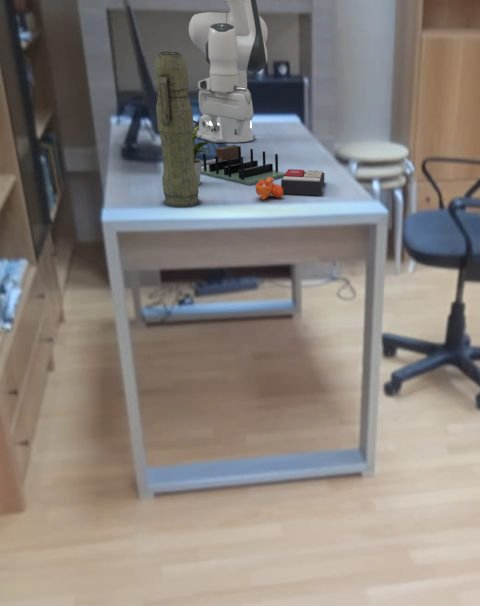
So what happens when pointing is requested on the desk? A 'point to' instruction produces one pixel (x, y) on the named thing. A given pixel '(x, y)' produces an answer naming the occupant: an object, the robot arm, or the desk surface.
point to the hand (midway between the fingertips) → (227, 133)
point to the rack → (242, 169)
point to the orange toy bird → (268, 188)
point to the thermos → (176, 130)
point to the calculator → (303, 182)
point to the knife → (224, 154)
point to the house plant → (196, 150)
